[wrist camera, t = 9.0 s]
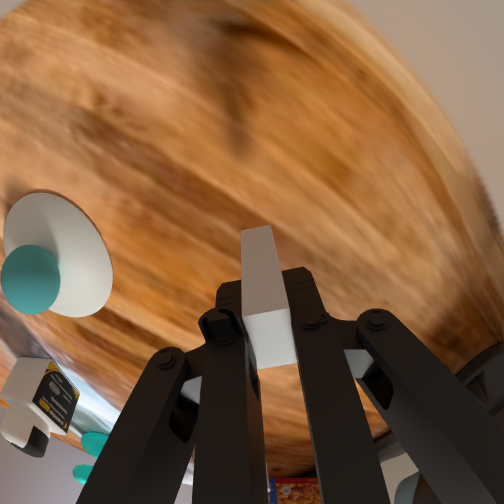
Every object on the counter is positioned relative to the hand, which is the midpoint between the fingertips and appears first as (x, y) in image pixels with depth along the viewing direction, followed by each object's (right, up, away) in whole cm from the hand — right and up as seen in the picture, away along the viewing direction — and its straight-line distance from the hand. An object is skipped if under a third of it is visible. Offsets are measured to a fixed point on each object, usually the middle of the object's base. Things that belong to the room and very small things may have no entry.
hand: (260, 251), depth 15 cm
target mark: (-17, -1, +5) cm, 18 cm away
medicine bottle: (-27, -16, +13) cm, 34 cm away
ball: (-18, -2, +2) cm, 18 cm away
